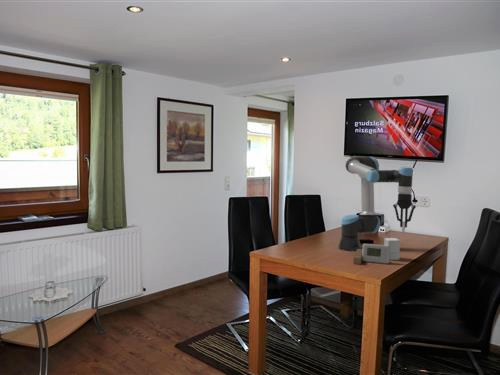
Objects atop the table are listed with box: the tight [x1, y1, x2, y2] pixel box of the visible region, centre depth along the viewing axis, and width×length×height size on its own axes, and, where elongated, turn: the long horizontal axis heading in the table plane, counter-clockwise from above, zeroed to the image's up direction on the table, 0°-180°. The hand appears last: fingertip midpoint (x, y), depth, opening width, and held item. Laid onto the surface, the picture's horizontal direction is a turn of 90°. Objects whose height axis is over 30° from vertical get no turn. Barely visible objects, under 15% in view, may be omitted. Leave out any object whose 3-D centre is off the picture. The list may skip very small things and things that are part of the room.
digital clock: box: [361, 243, 390, 265], centre depth 242 cm, size 16×9×11 cm, turn 56°
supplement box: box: [383, 237, 401, 261], centre depth 251 cm, size 7×7×13 cm
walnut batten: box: [353, 248, 363, 266], centre depth 248 cm, size 24×4×4 cm, turn 160°
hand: (403, 232), depth 236 cm, fingers closed
